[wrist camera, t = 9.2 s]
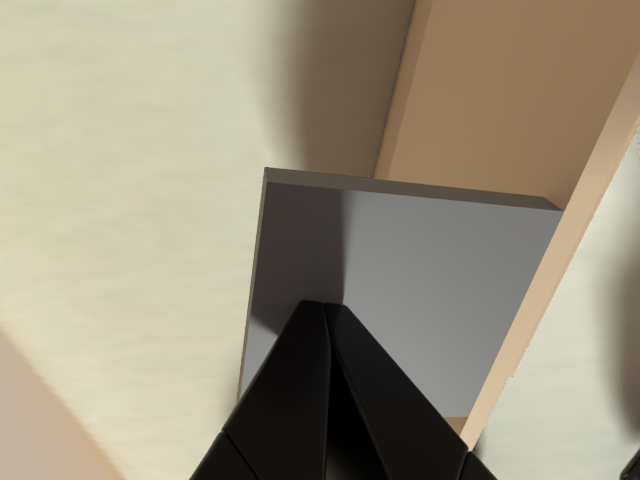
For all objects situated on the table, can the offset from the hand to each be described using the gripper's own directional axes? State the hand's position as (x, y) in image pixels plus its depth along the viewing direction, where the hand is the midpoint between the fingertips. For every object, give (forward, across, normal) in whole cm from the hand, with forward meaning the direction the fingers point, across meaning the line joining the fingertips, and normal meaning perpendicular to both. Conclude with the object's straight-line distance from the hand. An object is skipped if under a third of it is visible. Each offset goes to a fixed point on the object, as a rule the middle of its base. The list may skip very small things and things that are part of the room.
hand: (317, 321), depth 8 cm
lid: (+5, -4, 0) cm, 6 cm away
